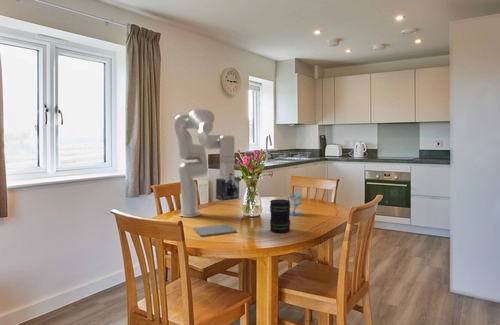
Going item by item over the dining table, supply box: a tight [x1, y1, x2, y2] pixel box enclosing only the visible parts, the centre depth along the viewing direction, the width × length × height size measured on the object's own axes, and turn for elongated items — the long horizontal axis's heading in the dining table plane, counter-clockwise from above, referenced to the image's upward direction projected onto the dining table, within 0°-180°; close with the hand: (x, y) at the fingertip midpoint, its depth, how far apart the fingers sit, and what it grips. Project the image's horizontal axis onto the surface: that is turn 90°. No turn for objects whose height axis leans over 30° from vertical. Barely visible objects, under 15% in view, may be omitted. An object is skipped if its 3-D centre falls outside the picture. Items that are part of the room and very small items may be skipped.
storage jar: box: [269, 198, 291, 234], centre depth 178 cm, size 10×10×15 cm
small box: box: [215, 177, 240, 201], centre depth 184 cm, size 11×6×10 cm, turn 128°
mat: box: [192, 223, 238, 237], centre depth 180 cm, size 15×18×1 cm
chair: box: [286, 193, 304, 217], centre depth 215 cm, size 8×8×12 cm
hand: (227, 194), depth 184 cm, fingers closed on small box, 7 cm apart
